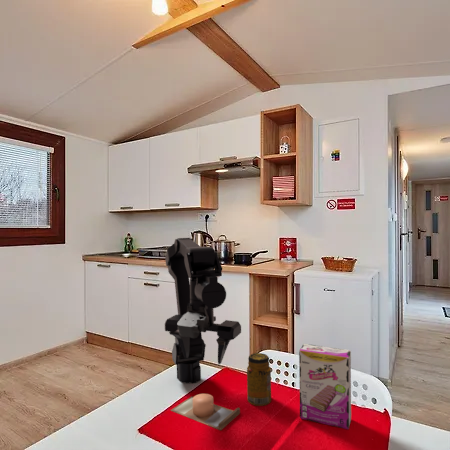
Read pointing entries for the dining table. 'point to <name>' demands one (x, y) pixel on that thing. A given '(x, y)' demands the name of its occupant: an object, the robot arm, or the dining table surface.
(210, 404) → the tan round cylinder
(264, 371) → the condiment
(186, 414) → the board
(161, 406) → the dining table surface
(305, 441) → the dining table surface
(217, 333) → the robot arm
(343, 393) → the candy bar box
